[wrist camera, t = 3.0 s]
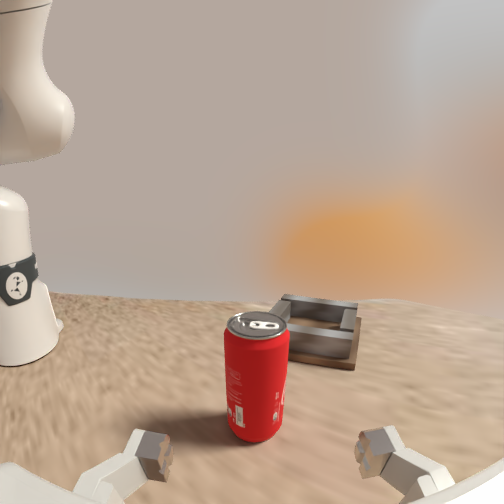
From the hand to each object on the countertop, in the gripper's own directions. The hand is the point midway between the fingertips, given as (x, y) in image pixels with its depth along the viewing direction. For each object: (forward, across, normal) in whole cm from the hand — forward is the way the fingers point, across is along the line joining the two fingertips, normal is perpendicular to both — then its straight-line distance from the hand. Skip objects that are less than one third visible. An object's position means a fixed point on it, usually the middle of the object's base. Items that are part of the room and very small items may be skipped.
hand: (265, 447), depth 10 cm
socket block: (+32, -8, +12) cm, 35 cm away
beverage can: (+13, 0, +12) cm, 18 cm away
